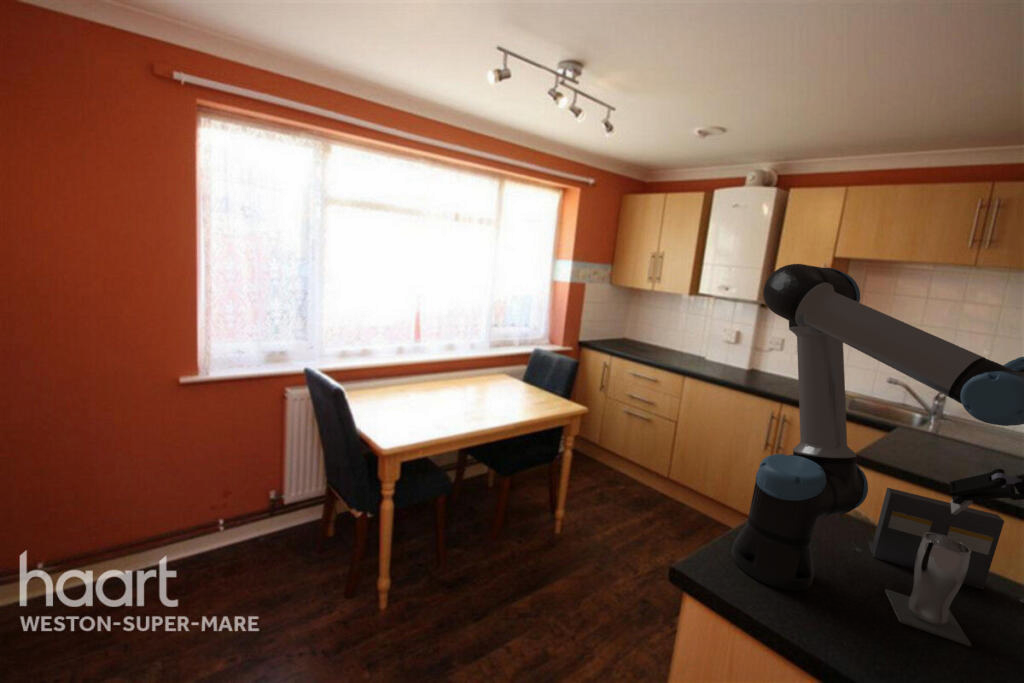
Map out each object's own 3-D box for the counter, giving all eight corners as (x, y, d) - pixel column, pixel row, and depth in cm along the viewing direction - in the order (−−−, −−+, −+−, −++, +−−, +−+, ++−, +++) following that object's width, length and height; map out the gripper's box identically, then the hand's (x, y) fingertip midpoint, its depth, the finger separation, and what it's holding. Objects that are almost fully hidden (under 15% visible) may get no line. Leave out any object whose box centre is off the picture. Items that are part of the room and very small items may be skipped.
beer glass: (895, 597, 93) (914, 528, 90) (936, 607, 91) (957, 537, 88) (914, 622, 86) (936, 548, 83) (960, 633, 84) (983, 558, 82)
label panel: (874, 558, 107) (891, 493, 104) (868, 545, 112) (884, 483, 109) (984, 591, 99) (1005, 521, 96) (971, 575, 104) (991, 509, 101)
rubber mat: (899, 622, 86) (900, 620, 86) (884, 591, 95) (885, 588, 95) (970, 646, 82) (971, 644, 82) (948, 611, 91) (948, 609, 91)
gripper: (971, 473, 78) (918, 516, 94) (1197, 523, 68) (1094, 562, 83) (966, 434, 82) (916, 482, 98) (1179, 475, 71) (1084, 521, 87)
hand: (998, 519), depth 91 cm, fingers open, 13 cm apart
